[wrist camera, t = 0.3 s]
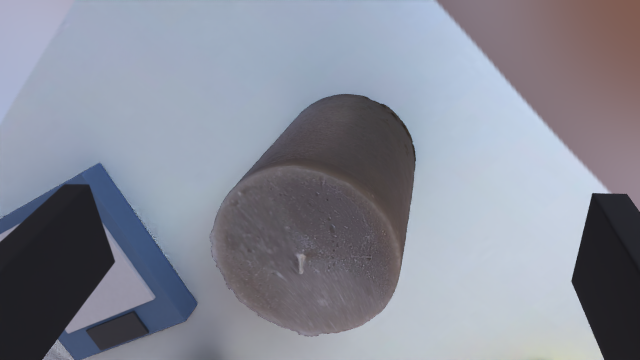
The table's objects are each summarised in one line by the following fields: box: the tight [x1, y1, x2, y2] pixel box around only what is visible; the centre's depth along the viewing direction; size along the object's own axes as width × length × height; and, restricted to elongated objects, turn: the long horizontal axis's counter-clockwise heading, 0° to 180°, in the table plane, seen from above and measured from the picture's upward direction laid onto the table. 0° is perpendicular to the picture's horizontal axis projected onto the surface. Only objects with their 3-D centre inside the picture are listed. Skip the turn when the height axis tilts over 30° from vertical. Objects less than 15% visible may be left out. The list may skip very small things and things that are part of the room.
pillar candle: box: [210, 94, 416, 337], centre depth 30 cm, size 10×10×15 cm
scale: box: [0, 163, 197, 360], centre depth 45 cm, size 15×14×3 cm
